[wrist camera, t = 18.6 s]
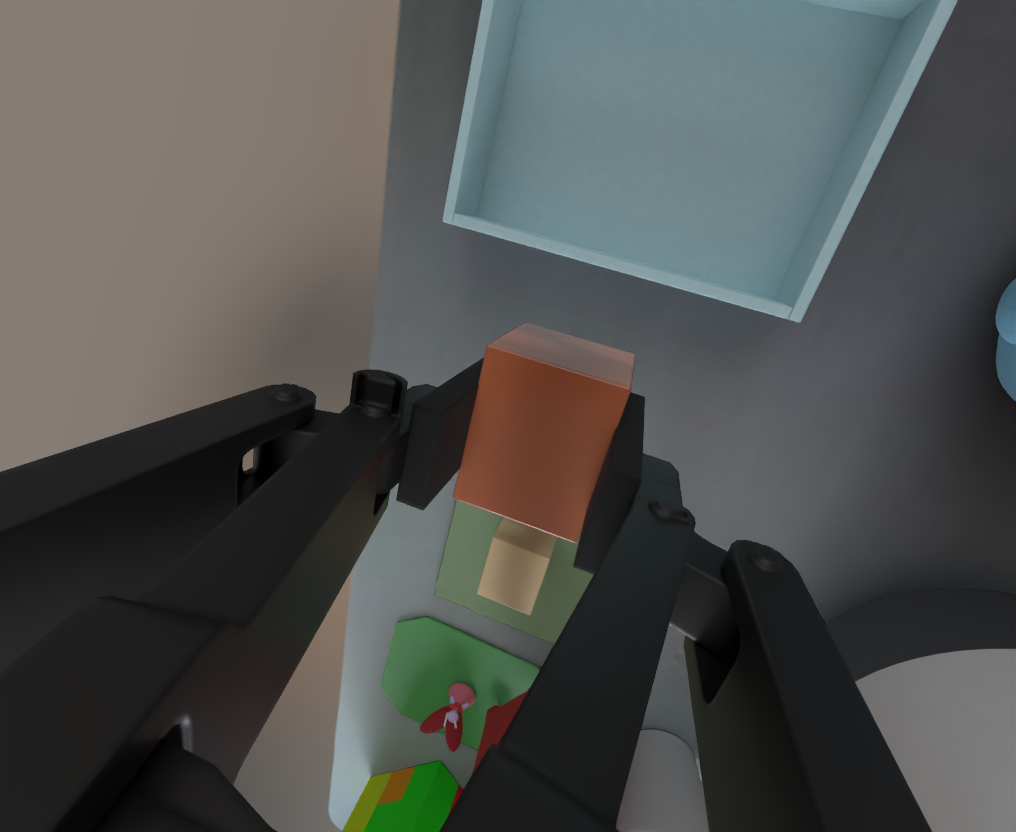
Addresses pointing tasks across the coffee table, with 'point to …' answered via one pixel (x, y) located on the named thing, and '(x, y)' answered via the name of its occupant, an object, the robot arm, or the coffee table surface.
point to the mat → (468, 562)
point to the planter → (942, 698)
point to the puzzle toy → (406, 801)
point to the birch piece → (516, 565)
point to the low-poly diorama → (454, 683)
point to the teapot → (1007, 340)
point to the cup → (663, 788)
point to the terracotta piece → (543, 427)
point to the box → (686, 133)
